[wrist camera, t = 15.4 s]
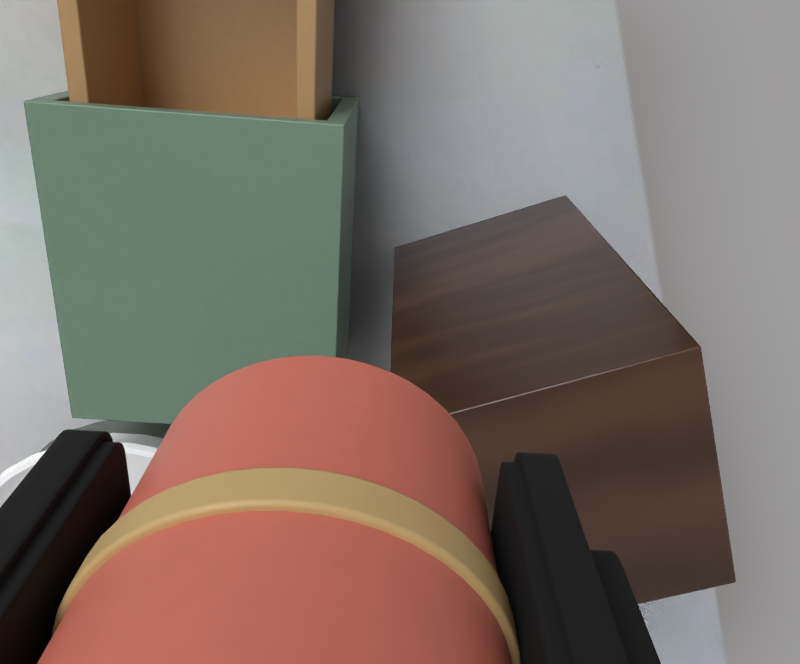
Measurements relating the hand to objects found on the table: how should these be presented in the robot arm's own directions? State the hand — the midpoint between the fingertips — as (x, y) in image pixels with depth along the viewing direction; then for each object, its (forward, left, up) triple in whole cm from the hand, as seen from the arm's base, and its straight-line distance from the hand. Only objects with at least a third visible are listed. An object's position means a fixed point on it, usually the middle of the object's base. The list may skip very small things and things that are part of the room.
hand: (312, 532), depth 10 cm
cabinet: (+5, -8, -30) cm, 31 cm away
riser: (+8, +8, -30) cm, 32 cm away
